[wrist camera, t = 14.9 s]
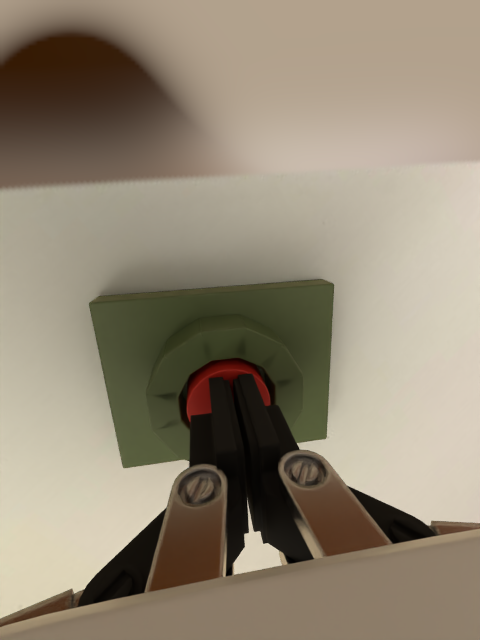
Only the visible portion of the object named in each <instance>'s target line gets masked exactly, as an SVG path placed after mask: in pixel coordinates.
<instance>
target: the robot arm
mask: <svg viewBox="0 0 480 640" xmlns="http://www.w3.org/2000/svg"><path fill="white" fill-rule="evenodd" d="M209 389H210V401H211V412H212V413H206V414H199V415H191V416H190V458H189V468H187V469H186V470H184V471H183V472H181V473H180V474H179V476H178V477H177V478H176V479H175V481H174V484H173V486H172V489H171V493H170V497H169V501H168V505H167V508H166V509H165V510H164V511H162V512H161V513H160V514H159V515H158V516H157V517H156V518H155V519H154V520H153V521H152V522H151V523H150V524H149V525H148V526H147V527H146V528H145V529H144V530H142V531H141V532H140V533H139V534H138V535H137V536H136V537H135V538H134V539H133V540H132V541H131V542H130V543H129V544H128V545H127V546H126V547H125V548H124V549H123V550H121V551H120V552H119V553H118V554H117V555H116V556H115V557H114V558H113V559H112V560H111V561H110V562H109V563H108V564H107V565H106V566H105V567H104V568H103V569H101V570H100V571H99V572H98V573H97V574H96V575H95V577H94V578H93V579H92V580H91V581H90V582H89V583H88V585H87V586H86V588H85V589H84V590H82V591H79V592H77V593H75V594H74V592H73V589H70V590H68V591H65V592H63V593H60V594H58V595H56V596H53V597H51V598H48V599H46V600H44V601H41V602H39V603H37V604H34V605H32V606H29V607H27V608H25V609H22V610H20V611H17V612H15V613H13V614H10V615H8V616H5V617H3V618H1V619H0V640H480V523H464V522H446V521H431V525H430V526H427V525H426V524H425V523H423V522H422V521H420V520H419V519H417V518H415V517H413V516H412V515H409V514H407V513H405V512H403V511H401V510H399V509H396V508H394V507H392V506H390V505H388V504H386V503H383V502H381V501H379V500H377V499H375V498H373V497H370V496H368V495H366V494H364V493H362V492H360V491H358V490H355V489H353V488H351V487H349V486H347V485H346V484H345V483H344V482H343V480H342V479H341V478H340V476H339V475H338V474H337V473H336V471H335V470H334V469H333V468H332V466H331V465H330V464H329V462H328V461H327V460H326V459H325V458H323V457H322V456H321V455H319V454H317V453H315V452H312V451H309V450H300V449H299V447H298V445H297V443H296V441H295V439H294V437H293V435H292V432H291V430H290V428H289V426H288V424H287V422H286V420H285V418H284V416H283V413H282V411H281V409H280V407H279V406H278V405H269V406H265V404H264V401H263V399H262V396H261V394H260V391H259V389H258V386H257V384H256V381H255V379H254V376H253V374H252V373H250V374H241V375H238V379H233V393H234V401H233V397H232V392H231V388H230V383H229V380H223V377H215V378H209ZM247 499H248V504H249V509H250V514H251V519H252V525H253V529H254V532H257V531H261V536H262V540H263V544H265V543H269V544H270V545H272V546H273V547H275V548H276V549H278V550H279V556H280V560H281V563H282V566H277V567H272V568H267V569H262V570H257V571H252V572H247V573H242V574H237V575H234V561H235V560H236V559H237V557H238V556H239V554H240V553H241V551H242V550H243V548H244V547H245V543H244V534H245V533H249V527H248V508H247Z"/></svg>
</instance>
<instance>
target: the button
mask: <svg viewBox="0 0 480 640" xmlns="http://www.w3.org/2000/svg"><path fill="white" fill-rule="evenodd" d="M250 373H252V374H253V376H254V379H255V381H256V384H257V386H258V389H259V391H260V394H261V396H262V399H263V401H264V404H265V406H269V405H270V395H269V392H268V389H267V387H266V385H265V383H264V381H263V378H262V376H261V374H260V372H259V370H258V368H257V366H256V365H255V364H253V363H250V362H248V361H246V360H243V359H241V358H231V359H222V360H213V361H210V362H209V363H207V364H206V365H204V366H203V367H201V368H200V369H198V370H197V371H195V372H193V373H192V374H190V376H189V379H188V385H187V416H188V419H189V422H190V416H191V415H199V414H206V413H212V412H211V401H210V389H209V378H215V377H223V380H229V383H230V388H231V392H232V397H233V401H234V393H233V379H238V375H241V374H250Z"/></svg>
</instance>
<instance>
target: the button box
mask: <svg viewBox="0 0 480 640" xmlns="http://www.w3.org/2000/svg"><path fill="white" fill-rule="evenodd" d="M333 296H334V284H333V283H330V282H328V281H325V280H323V279H320V280H307V281H294V282H281V283H268V284H254V285H241V286H228V287H215V288H202V289H188V290H175V291H162V292H149V293H136V294H122V295H109V296H98V297H97V298H95V299H94V300H93V301H91V302H90V303H89V307H90V311H91V316H92V321H93V326H94V331H95V335H96V340H97V345H98V350H99V355H100V359H101V364H102V369H103V374H104V379H105V384H106V388H107V393H108V398H109V403H110V408H111V412H112V417H113V422H114V427H115V432H116V436H117V441H118V446H119V451H120V456H121V461H122V465H123V468H130V467H136V466H143V465H150V464H157V463H164V462H171V461H177V460H187V461H189V458H190V422H189V419H188V416H187V385H188V379H189V376H190V374H192V373H193V372H195V371H197V370H198V369H200V368H201V367H203V366H204V365H206V364H207V363H209V362H210V361H213V360H222V359H231V358H241V359H243V360H246V361H248V362H250V363H253V364H255V365H256V366H257V368H258V370H259V372H260V374H261V376H262V378H263V381H264V383H265V385H266V387H267V389H268V392H269V395H270V405H278V406H279V407H280V409H281V411H282V413H283V416H284V418H285V420H286V422H287V424H288V426H289V428H290V430H291V432H292V435H293V437H294V439H295V441H296V443H300V442H307V441H314V440H321V439H326V437H327V417H328V397H329V376H330V356H331V336H332V316H333Z"/></svg>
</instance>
